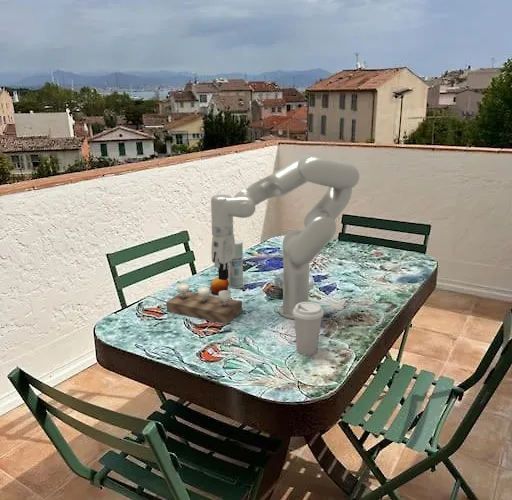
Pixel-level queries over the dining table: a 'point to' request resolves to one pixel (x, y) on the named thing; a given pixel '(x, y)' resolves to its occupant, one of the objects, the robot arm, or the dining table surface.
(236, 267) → the spray can
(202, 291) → the knob mid
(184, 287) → the knob far
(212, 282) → the fruit
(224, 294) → the knob near
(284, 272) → the robot arm
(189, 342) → the dining table surface
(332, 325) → the dining table surface
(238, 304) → the mount
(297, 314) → the coffee cup
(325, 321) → the dining table surface
